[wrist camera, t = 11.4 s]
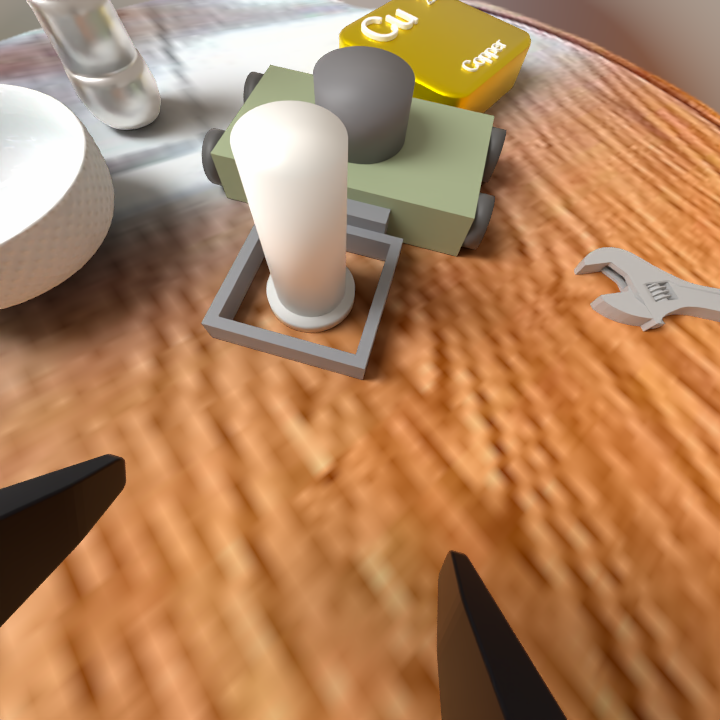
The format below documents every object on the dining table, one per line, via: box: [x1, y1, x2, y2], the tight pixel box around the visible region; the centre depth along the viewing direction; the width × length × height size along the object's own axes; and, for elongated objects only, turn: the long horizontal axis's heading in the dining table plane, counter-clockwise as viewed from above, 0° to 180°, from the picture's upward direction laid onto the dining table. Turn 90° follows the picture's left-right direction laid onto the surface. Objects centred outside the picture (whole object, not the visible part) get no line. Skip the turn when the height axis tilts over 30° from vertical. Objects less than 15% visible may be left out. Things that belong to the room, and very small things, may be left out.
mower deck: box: [201, 46, 506, 380], centre depth 24 cm, size 24×22×8 cm
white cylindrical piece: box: [230, 100, 355, 333], centre depth 20 cm, size 6×6×12 cm
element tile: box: [339, 0, 531, 113], centre depth 35 cm, size 15×15×5 cm
